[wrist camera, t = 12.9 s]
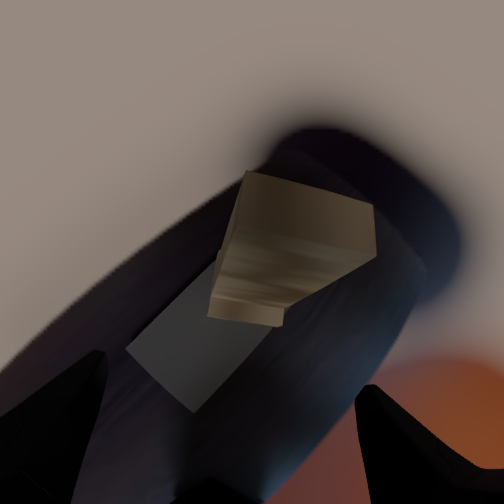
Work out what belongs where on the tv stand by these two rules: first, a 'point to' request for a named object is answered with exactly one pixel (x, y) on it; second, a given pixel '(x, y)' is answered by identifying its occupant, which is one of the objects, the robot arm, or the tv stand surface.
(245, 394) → the tv stand surface
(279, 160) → the tv stand surface
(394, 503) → the robot arm
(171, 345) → the slate tile
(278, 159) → the tv stand surface
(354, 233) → the tapered block
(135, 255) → the tv stand surface
